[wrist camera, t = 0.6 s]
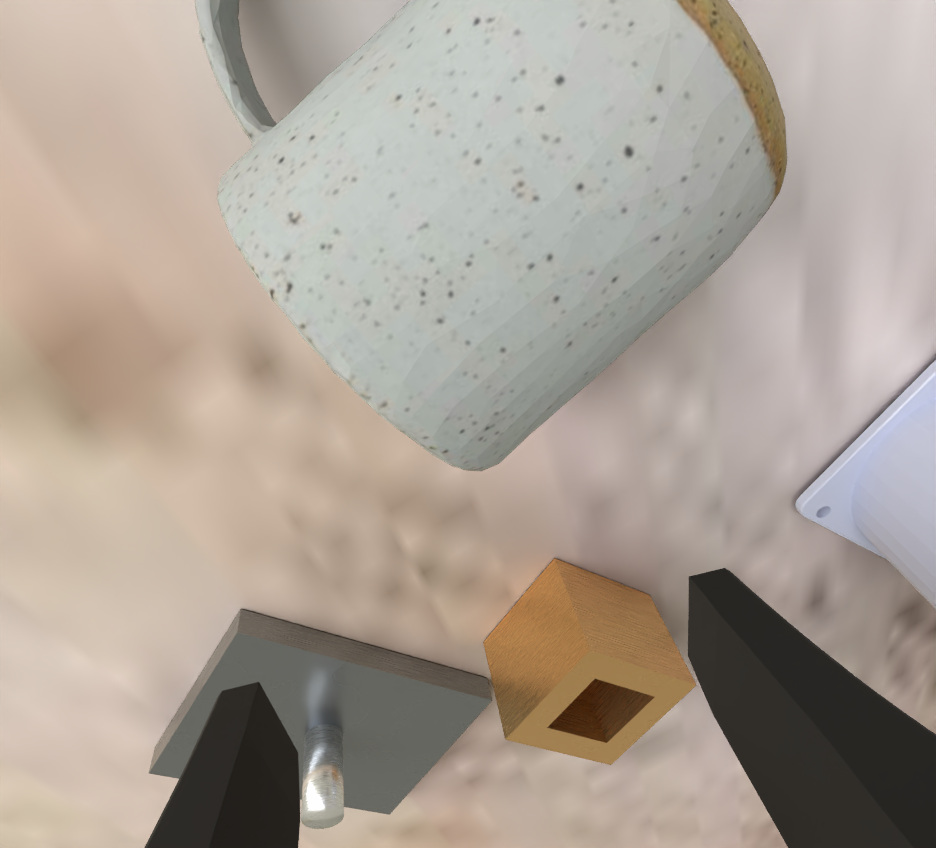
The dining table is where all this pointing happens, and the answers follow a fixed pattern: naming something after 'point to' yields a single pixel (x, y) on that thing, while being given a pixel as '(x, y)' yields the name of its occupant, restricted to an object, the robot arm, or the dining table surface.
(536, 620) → the wooden block with hole
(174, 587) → the dining table surface
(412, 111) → the ceramic mug
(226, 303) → the dining table surface
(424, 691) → the flat gray rectangular block
